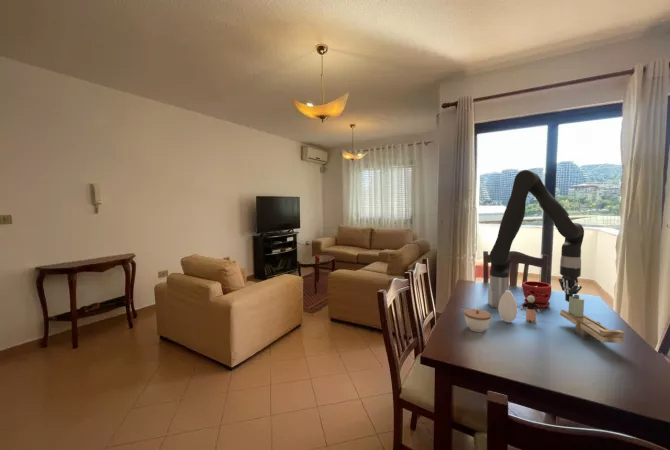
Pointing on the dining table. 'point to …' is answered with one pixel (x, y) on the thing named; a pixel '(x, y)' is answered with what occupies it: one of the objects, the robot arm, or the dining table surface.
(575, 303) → the block
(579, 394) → the dining table surface
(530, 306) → the grandmother figurine
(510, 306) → the white teardrop vase
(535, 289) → the plant pot
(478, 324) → the lidded jar
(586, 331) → the beam
